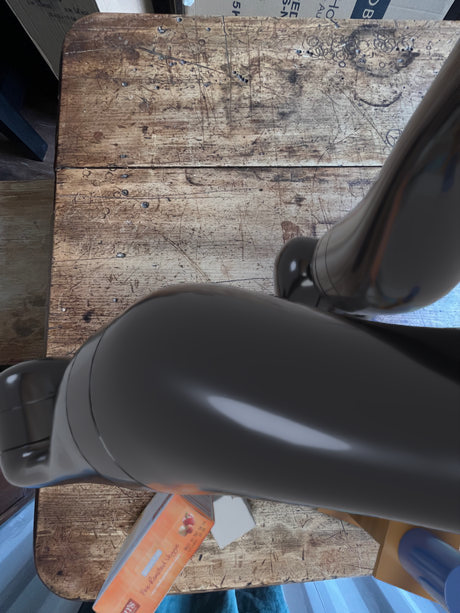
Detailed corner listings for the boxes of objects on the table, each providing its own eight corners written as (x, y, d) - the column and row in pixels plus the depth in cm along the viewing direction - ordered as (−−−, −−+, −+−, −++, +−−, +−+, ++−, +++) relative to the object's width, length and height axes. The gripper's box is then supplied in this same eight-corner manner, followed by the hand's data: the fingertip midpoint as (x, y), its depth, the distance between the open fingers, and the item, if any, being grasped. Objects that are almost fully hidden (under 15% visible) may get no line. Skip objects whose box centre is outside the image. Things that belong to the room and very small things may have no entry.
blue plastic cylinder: (392, 568, 40) (438, 615, 32) (404, 520, 41) (452, 553, 33) (436, 586, 39) (493, 637, 32) (448, 537, 40) (506, 575, 33)
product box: (200, 494, 60) (199, 509, 53) (233, 473, 61) (236, 486, 54) (218, 530, 59) (220, 550, 52) (251, 509, 60) (258, 526, 53)
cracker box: (159, 554, 58) (132, 648, 38) (128, 529, 59) (86, 608, 38) (214, 476, 61) (217, 525, 40) (184, 452, 61) (173, 489, 41)
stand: (315, 508, 61) (374, 578, 39) (330, 459, 62) (395, 501, 41) (361, 526, 61) (446, 607, 39) (375, 476, 62) (464, 528, 41)
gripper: (231, 419, 41) (216, 500, 50) (359, 432, 41) (322, 509, 50) (232, 370, 47) (219, 450, 56) (344, 382, 47) (313, 459, 56)
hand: (267, 478), depth 53 cm, fingers open, 8 cm apart
